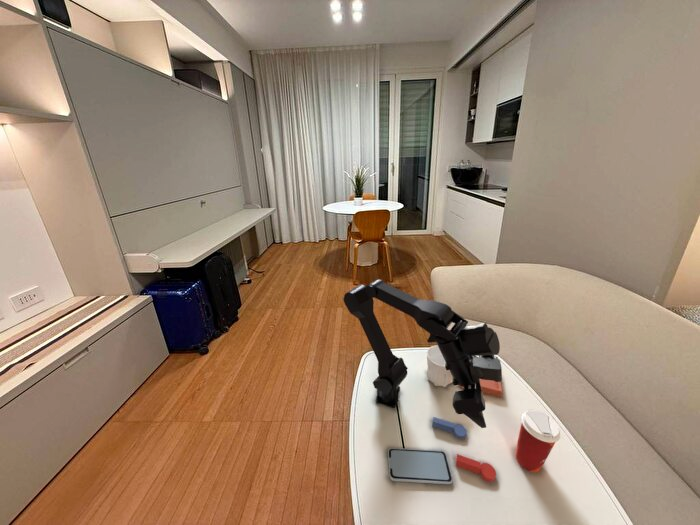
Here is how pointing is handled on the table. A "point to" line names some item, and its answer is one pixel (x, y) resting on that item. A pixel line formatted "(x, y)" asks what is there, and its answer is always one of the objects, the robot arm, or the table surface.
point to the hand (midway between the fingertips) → (482, 413)
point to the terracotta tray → (490, 387)
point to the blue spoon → (450, 427)
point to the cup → (437, 367)
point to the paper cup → (536, 439)
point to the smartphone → (419, 466)
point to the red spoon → (477, 467)
